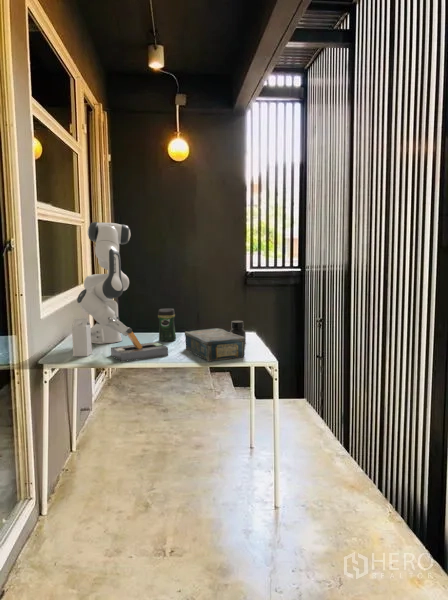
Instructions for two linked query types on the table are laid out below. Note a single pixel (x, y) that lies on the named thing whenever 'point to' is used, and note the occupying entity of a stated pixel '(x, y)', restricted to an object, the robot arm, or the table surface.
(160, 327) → the coffee jar
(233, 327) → the ink bottle
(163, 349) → the breaker box
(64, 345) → the table surface
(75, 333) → the milk carton
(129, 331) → the lever
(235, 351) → the metal box
